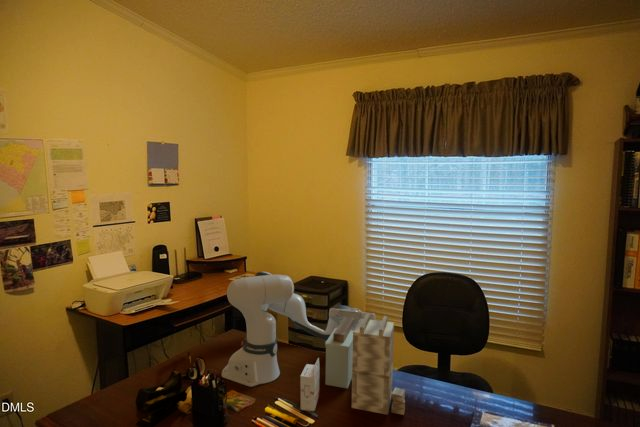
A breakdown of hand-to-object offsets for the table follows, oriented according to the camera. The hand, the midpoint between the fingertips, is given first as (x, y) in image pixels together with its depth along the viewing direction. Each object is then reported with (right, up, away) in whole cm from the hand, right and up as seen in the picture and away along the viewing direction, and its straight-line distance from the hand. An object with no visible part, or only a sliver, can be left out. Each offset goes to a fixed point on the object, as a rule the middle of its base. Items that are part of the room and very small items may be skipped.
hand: (349, 312), depth 152 cm
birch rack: (+6, -23, -26) cm, 35 cm away
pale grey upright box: (-4, -22, -11) cm, 25 cm away
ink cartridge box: (-16, -23, -28) cm, 40 cm away
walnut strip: (-3, -6, -8) cm, 10 cm away
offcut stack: (+14, -24, -31) cm, 41 cm away
